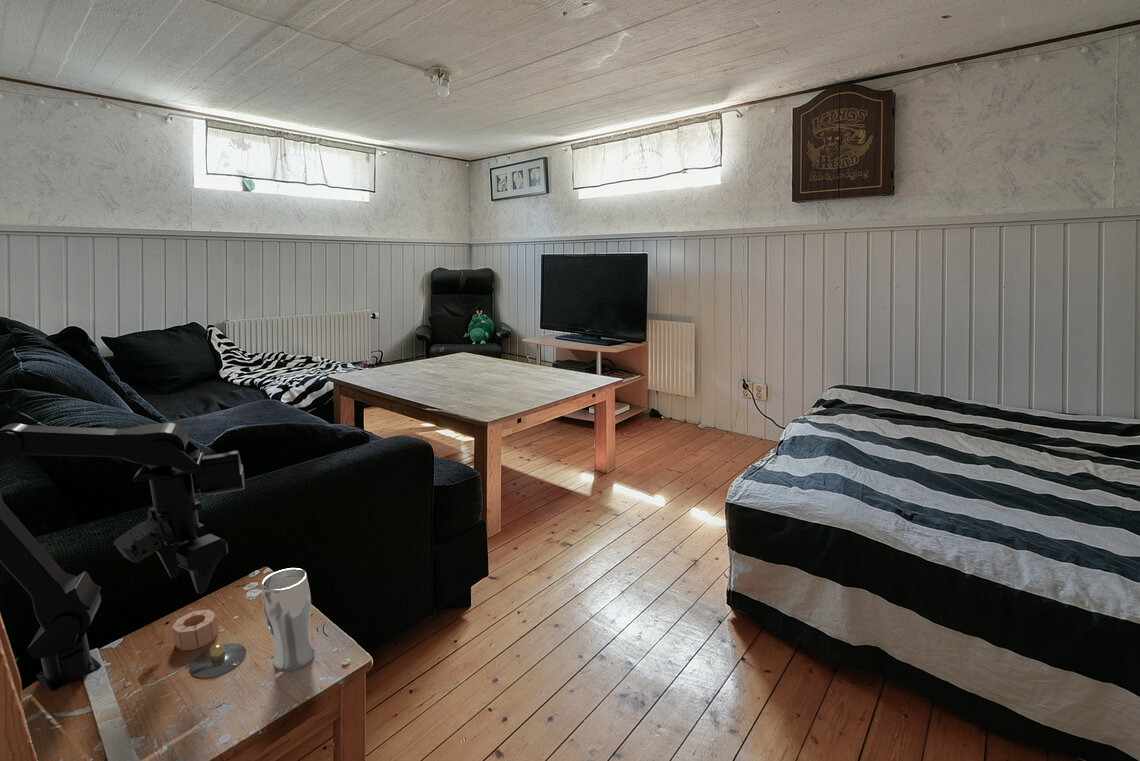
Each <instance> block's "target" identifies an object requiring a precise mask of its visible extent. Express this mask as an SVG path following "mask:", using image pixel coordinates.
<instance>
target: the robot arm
mask: <svg viewBox="0 0 1140 761" xmlns="http://www.w3.org/2000/svg"><path fill="white" fill-rule="evenodd" d="M239 451H240V450H239ZM239 451H238V450H232V451H228V452H224V453H217V454H210V455H205V451H204V450H203V449H201V448H200V447H199V446H198V445H196V444H195V443H194V442H193V441H192V440H190V439H189V435H188V433H187V430H185V429H184V428H183V426H181V425H180V424H177V423H173V422H164V423H162V422H161V423H160V422H159V423H150V424H143V425H138V426H137V425H136V426H133V427H125V428H107V427H106V428H103V427H102V428H101V427H82V426H81V427H80V426H79V427H78V426H57V425H56V426H55V425H30V424H23V423H21V422H20V423H19V422H16V423H9V424H7V425H5V426H3V427H2V428H0V465H1V464H2V463H5V461H7V460H8V459H10V458H11V457H13V456H18V455H19V456H56V457H57V456H59V457H60V456H61V457H62V456H63V457H95V458H96V457H98V458H99V457H100V458H101V457H103V458H105V457H106V458H116V459H117V458H118V459H122V460H125V461H127V462H131V463H134V464H139V465H142V466H141V468H140V469H139V470H137V471H136V473H135V475H134V476H133V478H132V481H133V482H135V483H138V482H143V481H149V487H150V494H151V498H152V505H153V507H149V508H148V510H147V519H146V520H144V521H141V522H140V523H138V524H137V525H135V526H133V527H132V528H131V529H129V530H128V531H126V532H125V533H123V534H121V535H120V536H118V537H117V538H116V539H114V541H113V545H114V546H115V547H116V549H117V550H118V551H119V552H120V554H121V555H122V556H123V558H125V559H127V560H128V561H131V563H134V564H135V563H139V562H141V561H143V560H144V559H145V558H147V557H149V556H150V555H152V554H153V553H156V554H157V555H158V557H159V559H160V561H161V563H162V564H163V567H164V569H165V570H166V572H167V574H168V575H169V578H171V579H174V578H177V577H178V576H179V575H180V574H179V573H180V569H181V568H183V569H184V570H186V571H189V574H190V577H191V579H192V582H193V586H194V588H195V592H196V593H197V594H198V595H201V594H203V593H205V592H206V591H207V589H208V587H209V584H210V581H211V579H212V577H213V575H214V572H215V569H216V568H217V565H218V563H219V562H220V560H221V558H223V557H224V556H226V555H227V554H228V553H229V546H228V541H227V540H226V539H225V540H224V539H222V538H221V537H219V536H216V535H214V534H212V533H208V534H204V535H203V536H201V537H200V536H198V534H199V533H203V532H205V531H206V526H205V524H203V523H201V522H199V521H200V520H199V515H198V510H201V509H202V502H200V501H198V500H196V495H195V494H196V493H195V488H194V480H193V475H194V478H195V485H196V489H197V491H198V492H200V493H201V494H202V495H203V494H205V496H213V495H219V494H225V493H226V494H227V493H231V492H237V491H244V490H245V484H246V483H245V472H244V465H243V464H242V461H241V456H240V452H239ZM192 474H193V475H192ZM0 564H1V565H2V566H3V567H4V568H5V569H6V570H7V571H8V573H10V575H12V577H13V578H14V579H15V580H16V581H17V582H18V583H19V584H20V585H21V586H22V587H23V589H24V590H25V591H26V592H27V593H28V595H29V596H30V598H31V602H32V606H33V610H34V611H33V612H34V615H35V618H36V619H37V622H38V623H39V625H40V628H39V629H38V631H37V632H36V633H35V635H34V637H33V639H32V641H31V642H30V644H29V645H28V647H27V649H26V652H27V653H28V654H29V656H30V657H31V658H32V659H33V660H34V661H36V660H40V661H41V666H42V669H43V671H41V672H39V673H37V674H36V678H37V679H38V680H39V681H40V682H41V683H42V684H43V685H44V686H45V687H46V689H48V690H49V691H50V692H54V691H57V690H59V689H60V688H62V687H64V686H67V685H69V684H70V683H73V682H75V681H76V680H78V679H79V680H80V678H83V677H85V676H87V675H88V674H91V673H92V672H94V671H97V670H98V669H100V668H102V664H101V663H100V662H99V661H98V660H96V659H95V658H94V657H93V656H92V655H91V651H90V646H89V642H88V636H87V633H86V632H87V630H88V629H89V627H90V626H91V624H92V621H93V619H94V618H95V615H96V613H97V612H98V609H99V607H100V604H101V602H102V595H101V593H100V591H101V589H102V586H100V585H98V584H96V583H95V582H94V581H93V580H92V578H91V576H90V575H89V573H88V571H86V570H85V571H83V572H81V573H80V574H78V575H74V574H71V573H68V572H66V571H65V570H64V569H63V568H61V566H60V565H59V564H58V563H57V562H56V560H55V559H53V557H52V556H51V555H50V554H49V552H47V550H46V549H45V548H44V547H43V546H42V544H40V542H39V541H38V540H37V538H36V537H35V536H34V535H32V533H31V532H30V531H29V529H28V528H27V527H26V526H25V525H24V523H22V522H21V521H20V519H19V518H18V517H17V516H16V514H14V512H13V511H12V510H11V508H9V507H8V505H7V504H6V503H5V501H4V499H3V496H2V490H0ZM86 674H87V675H86ZM84 675H85V676H84Z"/></svg>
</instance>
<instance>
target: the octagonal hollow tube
mask: <svg viewBox="0 0 1140 761" xmlns="http://www.w3.org/2000/svg"><path fill="white" fill-rule="evenodd" d="M171 630H172V634H173V641H174V646H175V647H176V648H177V647H178V648H177V649H179V650H180V651H191V649H192V650H197V649H199V648H202V647H203V646H206V645H208V644H210V643H211V642H213V641H214V640H215V638H216V637H217V635H218V633H219V628H218V621H217V615H216V613H215V612H214V611H212V610H210V609H200V610H194V611H191V612H189V613H187V614H184V615H183V616H181V617H178V619H176V621H175V622H174V624H173V625H172V627H171ZM198 647H199V648H198Z"/></svg>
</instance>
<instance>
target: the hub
mask: <svg viewBox="0 0 1140 761" xmlns="http://www.w3.org/2000/svg"><path fill="white" fill-rule="evenodd" d="M246 655H247V650H246V648H245V646H244V645H243V644H239V643H235V642H233V643H232V642H230V643H223V642H216V643H213V644H212V645H211V646H210V647H209V648H208V649H206V650H204V651H203V652H202V653H199V654H198V656H196V657H195V658H194V659H193V660H192V662H191V663H190V665H189V673H190V674H191V675H192V676H194V677H196V678H199V679H209V678H214V677H218V676H221V675H224V674H226V673H229V672H230V671H232V670H233V669H235V668H236V667H237V666H239V665H240V664H241V663H242V662H243V661H244V659H245V658H246Z"/></svg>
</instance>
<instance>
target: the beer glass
mask: <svg viewBox="0 0 1140 761" xmlns="http://www.w3.org/2000/svg"><path fill="white" fill-rule="evenodd" d="M307 575H308V574H307V572H306V570H305V569H302V568H297V567H290V568H284V569H283V568H282V569H281V570H280V569H279V570H277V571H274V572H273V573H270V574H269V575H267V576H266V577H265V578H264V579H263V580H262V581H261V593H262V594H261V596H262V598H261V599H262V609H263V615H264V618H265V622H266V626H267V627H268V630H269V632H270V633H269V634H270V635H271V640H272V643H273V648H274V654H273V655H274V656H273V666H274V667H275V669H278V670H279V671H280V672H282V673H290V672H291V673H292V672H294V671H298V670H300V669H302V668H304V667H306V666H307V665H308V664H309V663H310V662H311V661H312V660H313V658H314V655H315V652H314V648H313V645H312V643H311V638H310V627H311V626H310V625H311V614H312V597H311V596H312V595H311V590H310V584H309V581H308V576H307Z"/></svg>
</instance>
